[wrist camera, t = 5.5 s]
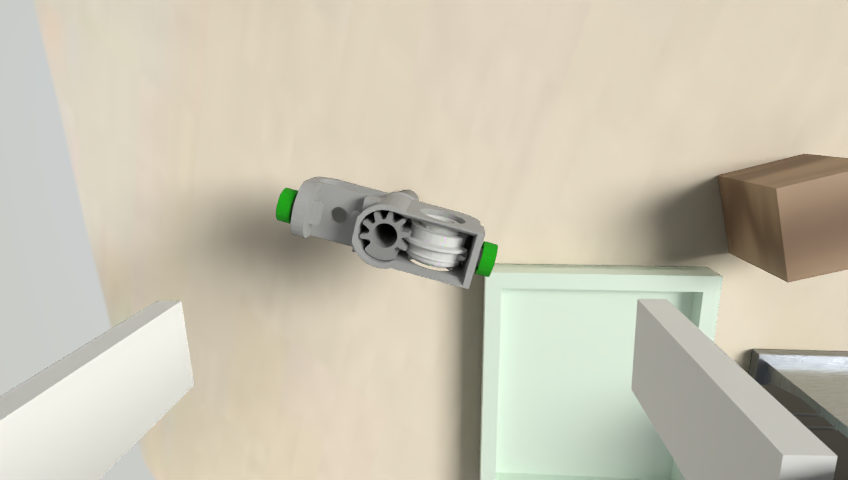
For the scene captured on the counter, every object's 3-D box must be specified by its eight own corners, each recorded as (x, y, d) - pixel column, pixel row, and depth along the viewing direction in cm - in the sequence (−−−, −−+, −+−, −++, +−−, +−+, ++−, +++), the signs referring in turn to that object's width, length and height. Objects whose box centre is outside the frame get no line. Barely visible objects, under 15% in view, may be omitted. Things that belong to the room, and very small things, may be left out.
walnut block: (717, 175, 31) (776, 188, 25) (804, 153, 30) (885, 162, 25) (728, 252, 32) (787, 282, 26) (813, 233, 31) (893, 259, 26)
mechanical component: (335, 158, 32) (280, 175, 23) (491, 200, 32) (503, 236, 23) (325, 203, 33) (269, 238, 23) (478, 244, 33) (484, 297, 23)
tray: (484, 263, 33) (485, 272, 31) (707, 267, 32) (722, 276, 30) (479, 475, 37) (480, 495, 35) (679, 485, 36) (691, 505, 34)
